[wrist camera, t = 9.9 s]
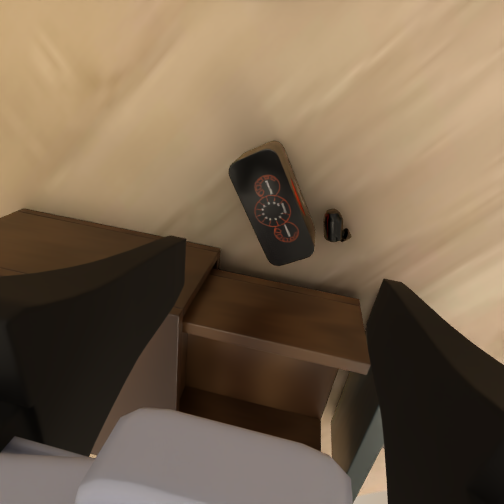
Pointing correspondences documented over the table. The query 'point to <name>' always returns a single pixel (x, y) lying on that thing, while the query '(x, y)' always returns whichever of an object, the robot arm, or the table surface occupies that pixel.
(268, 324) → the drawer
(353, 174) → the table surface
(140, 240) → the cabinet
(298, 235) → the wireless earbuds
